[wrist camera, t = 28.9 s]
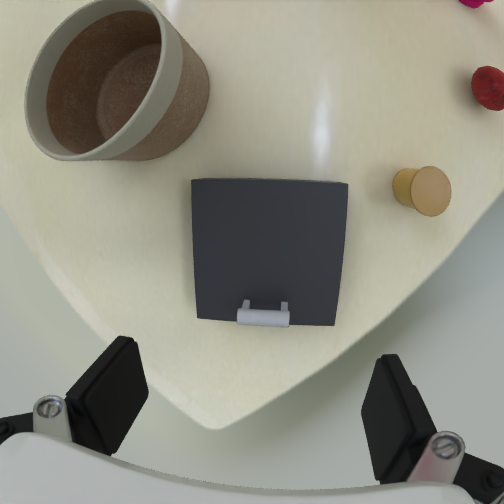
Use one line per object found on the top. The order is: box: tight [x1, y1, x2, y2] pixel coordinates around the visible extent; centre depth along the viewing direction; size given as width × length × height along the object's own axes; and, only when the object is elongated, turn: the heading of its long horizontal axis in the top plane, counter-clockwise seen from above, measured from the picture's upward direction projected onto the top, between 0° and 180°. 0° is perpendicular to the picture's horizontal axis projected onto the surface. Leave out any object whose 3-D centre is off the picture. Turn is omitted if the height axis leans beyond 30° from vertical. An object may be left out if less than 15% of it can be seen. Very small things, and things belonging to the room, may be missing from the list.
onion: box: [471, 66, 504, 111], centre depth 21 cm, size 6×6×8 cm
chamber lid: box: [191, 179, 348, 327], centre depth 28 cm, size 16×16×5 cm
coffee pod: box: [393, 166, 451, 217], centre depth 27 cm, size 5×5×6 cm
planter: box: [24, 0, 209, 161], centre depth 24 cm, size 16×16×14 cm
